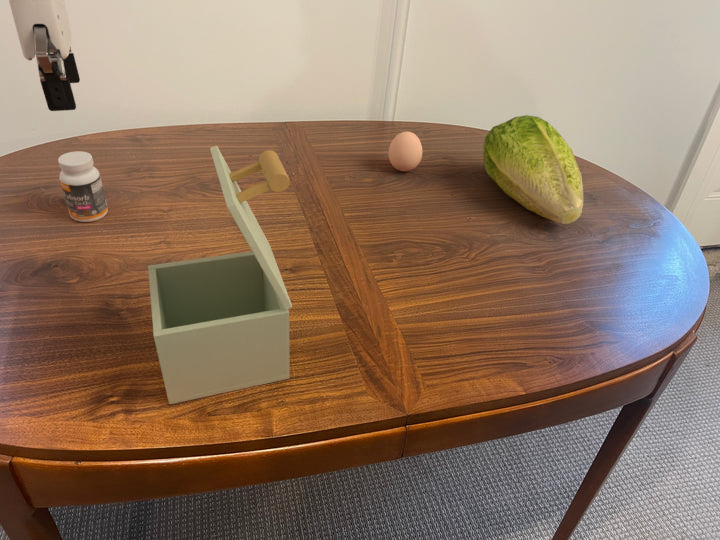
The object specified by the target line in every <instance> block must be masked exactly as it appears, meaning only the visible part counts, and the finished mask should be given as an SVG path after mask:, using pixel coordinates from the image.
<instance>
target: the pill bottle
mask: <svg viewBox="0 0 720 540" xmlns="http://www.w3.org/2000/svg"><path fill="white" fill-rule="evenodd" d="M57 163H58V166H59V169H60V170H61V171H60V172H59V175H58V176H59V177H58V178H59V182H60V186H61V189H62V192H63V197H64V200H65V203H66V207H67V211H68V214H69V216H70V218H71V219H72V220H73V221H77V222H80V223H90V222H91V223H92V222H96V221H99V220H101V219H103V218H104V217H105V216H107V213H108V212H109V208H108V202H107V199H106V194H105V190H104V186H103V182H102V177H101V173H100V171H99V170H98V168H97V167H95V166H94V164H95V161H94V159H93V156H92V154H91V153H89V152H86V151H81V150H80V151H79V150H77V151H76V150H75V151H69V152H66V153H63V154H61V155H60V156H59V157H58V159H57Z"/></svg>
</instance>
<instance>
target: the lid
mask: <svg viewBox="0 0 720 540" xmlns="http://www.w3.org/2000/svg"><path fill="white" fill-rule="evenodd" d="M209 150H210V154H211V157H212V161H213V165H214V168H215V171H216V174H217V178H218V181H219V184H220V188H221V192H222V196H223V198H224V201H225V205H226V208H227V210H228V212H229V213H230V215H231V217H232V219H233V220H234V222H235V224H236V226H237V227H238V229H239V231H240V233H241V235H242V236H243V238H244V240H245V241H246V243H247V245H248V247H249V248H250V250H251V251H252V252H253V254H254V255H255V257H256V259H257V261H258V262H259V264H260V266H261V268H262V269H263V271H264V273H265V275H266V276H267V278H268V280H269V282H270V283H271V285H272V287H273V289H274V290H275V292H276V294H277V296H278V297H279V299H280V301H281V303H282V304H283V306H284V308H285V310H290V309H292V308H293V304H292V301H291V298H290V296H289V293H288V290H287V287H286V285H285V282H284V280H283V277H282V275H281V272H280V269H279V267H278V263H277V261H276V258H275V255H274V253H273V249H272V247H271V244H270V242H269V240H268V239H267V237H266V235H265V233H264V231H263V229H262V228H261V226H260V224H259V221H258V220H257V217H256V216H255V214H254V212H253V210H252V209H251V207H250V205H249V203H248V200H250V199H253V198H254V197H257V196H259V195H261V194H264V193H267V192H268V191H270V190H271V191H273V192H274V193H282V192H284V191H286V190H287V189H288V188H289V186H290V177H289V176H288V174H287V172H286V171H287V170H286V169H285V167H284V165H283V163H282V161H281V159H280V157H279V154H278V153H277V152H275V150H271V149H267V150H264V151H262V152H261V153H260V155H259V157H258V161H256V162H253V163H251V164H249V165H247V166H243V167H242V168H239V169H237V170H235V171H233V172H232V171H231V169H230V168H229V165H228V164H227V161H226V160H225V158H224V156H223V154H222V151H221V150H220V149H219V147H218V145H214V146H212V147H209ZM260 171H262V173H263V176H264V177H265V180H264V181H262V182H260V183H258V184H255V185H253V186H251V187H249V188H246V189H244V190H242V189H241V188H240V186H239V184H238V182H237V181H239V180H241V179H242V180H243V179H244V178H246V177H248V176H251V175H253V174H256V173H257V172H260Z"/></svg>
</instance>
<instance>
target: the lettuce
mask: <svg viewBox="0 0 720 540" xmlns="http://www.w3.org/2000/svg"><path fill="white" fill-rule="evenodd" d="M482 151H483V152H482V153H483V157H482V158H483V168H484V170H485V172H486V173H487V175H488V176H489V177H490V179H492V181H493V182H494V183H495V184H496V185H497V186H498V187H499V188H500V189H501V190H502V191H503V193H505V195H507V196H508V197H509V198H511V199H513V200H514V201H516V202H517V203H518V204H520V205H521V206H522V207H524V208H525V209H526V210H528V211H531V212H532V213H534V214H536V215H538V216H540V217H543V218H545V219H548V220H550V221H553V222H555V223H557V224H561V225H562V224H563V225H570V224H572V223H574V222H575V221H577V220H578V219H579V218H580V217H581V215H582V213H583V211H582V210H583V207H584V198H585V197H584V184H583V177H582V173H581V170H580V168H579V165H578V162H577V159H576V157H575V154H574V152H573V149H572V148H571V147H570V145H569V144H568V143H567V141H566V140H565V139H564V137H563V136H562V135H561V134H560V132H559V131H558V130H557V129H556V128H555V127H554V126H553V125H552V124H550V123H549V122H548V121H547V120H545V119H543V118H541V117H539V116H534V115H528V114H525V115H517V116H515V117H512V118H510V119H509V120H506V121H504V122H502V123H499V124H497V125H494V126H492V127H491V129H490V130H489V131H488V133H487V134H486V136H485V137H484V141H483V149H482Z"/></svg>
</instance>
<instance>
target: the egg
mask: <svg viewBox="0 0 720 540" xmlns="http://www.w3.org/2000/svg"><path fill="white" fill-rule="evenodd" d="M423 152H424V151H423V146H422V142H421V140H420V138H419V137H418V135H416V134H415V133H414V132H411V131H401V132H400V133H398V134H397V135H396V136H395V137H394V138H393V139H392V141H391V142H390V143H389V147H388V153H387V154H388V160H389V162H390V164H391V166H392V167H393V168H394V169H396V170H397V171H400V172H410V171H413V170H414V169H416V167H418V166H419V164H420V163H421V161H422V158H423Z"/></svg>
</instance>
